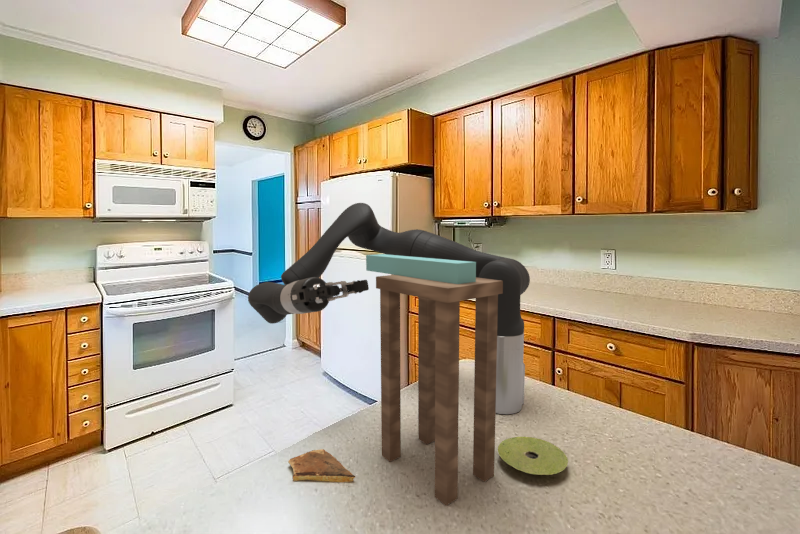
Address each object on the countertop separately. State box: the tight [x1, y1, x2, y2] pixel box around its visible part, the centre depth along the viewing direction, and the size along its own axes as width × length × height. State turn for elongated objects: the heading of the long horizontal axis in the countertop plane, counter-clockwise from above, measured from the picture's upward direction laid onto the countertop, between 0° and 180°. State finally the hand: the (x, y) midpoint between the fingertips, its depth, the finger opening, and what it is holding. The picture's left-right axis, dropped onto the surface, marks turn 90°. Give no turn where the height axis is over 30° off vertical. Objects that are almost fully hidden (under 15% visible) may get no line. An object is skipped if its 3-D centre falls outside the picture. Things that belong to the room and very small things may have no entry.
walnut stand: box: [375, 274, 503, 507], centre depth 64 cm, size 12×17×32 cm
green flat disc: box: [497, 436, 569, 476], centre depth 66 cm, size 11×11×2 cm
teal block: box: [365, 253, 476, 284], centre depth 67 cm, size 4×24×3 cm, turn 38°
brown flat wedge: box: [287, 448, 356, 483], centre depth 63 cm, size 11×8×2 cm
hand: (350, 287), depth 75 cm, fingers open, 8 cm apart
